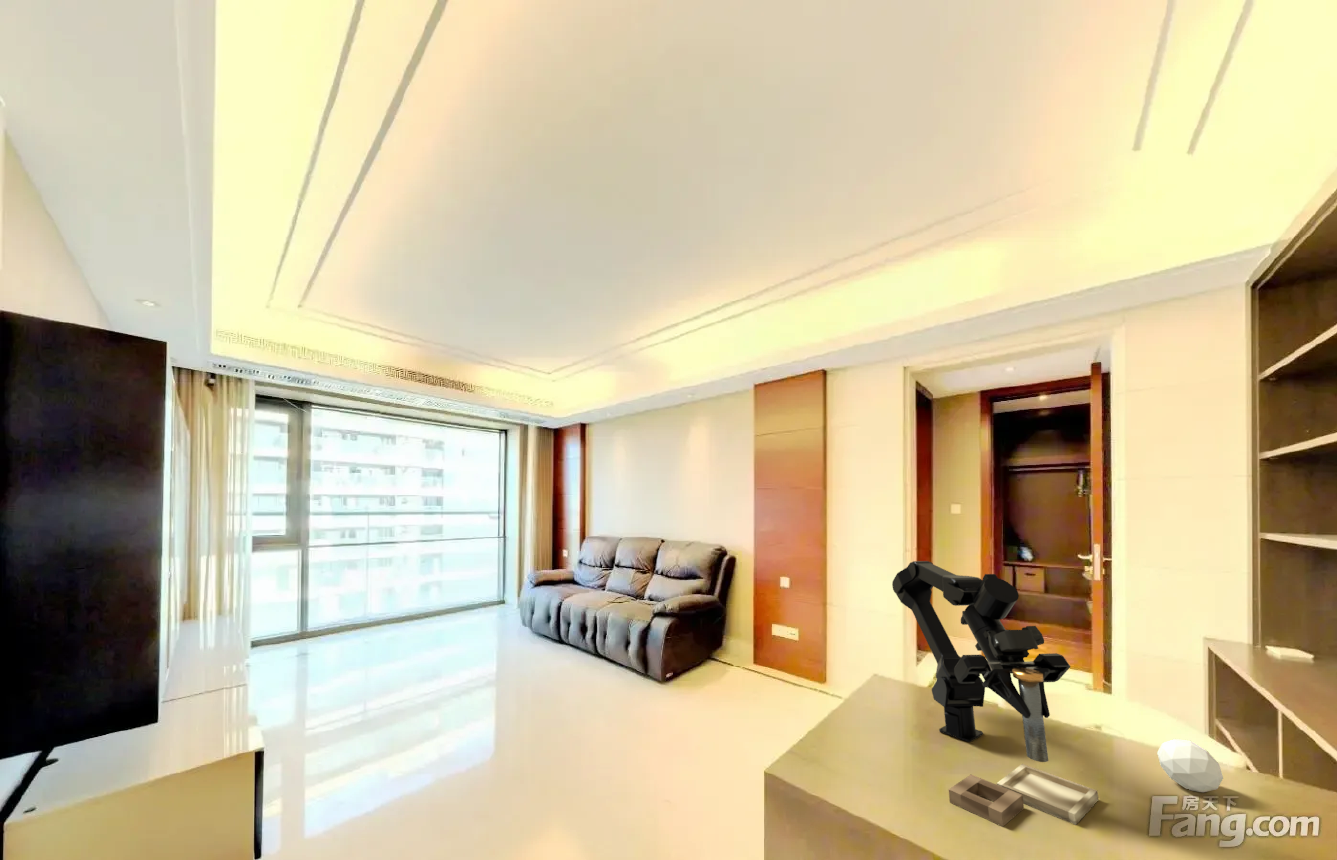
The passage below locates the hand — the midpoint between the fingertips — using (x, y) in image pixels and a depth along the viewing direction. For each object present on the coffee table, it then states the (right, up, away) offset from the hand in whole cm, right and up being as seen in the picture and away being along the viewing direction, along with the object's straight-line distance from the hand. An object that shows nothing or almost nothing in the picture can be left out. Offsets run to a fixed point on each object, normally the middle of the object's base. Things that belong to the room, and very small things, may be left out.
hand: (1037, 717), depth 85 cm
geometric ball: (+28, -13, +1) cm, 31 cm away
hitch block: (-11, -13, -3) cm, 17 cm away
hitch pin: (0, -7, 0) cm, 7 cm away
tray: (+1, -13, 0) cm, 13 cm away
